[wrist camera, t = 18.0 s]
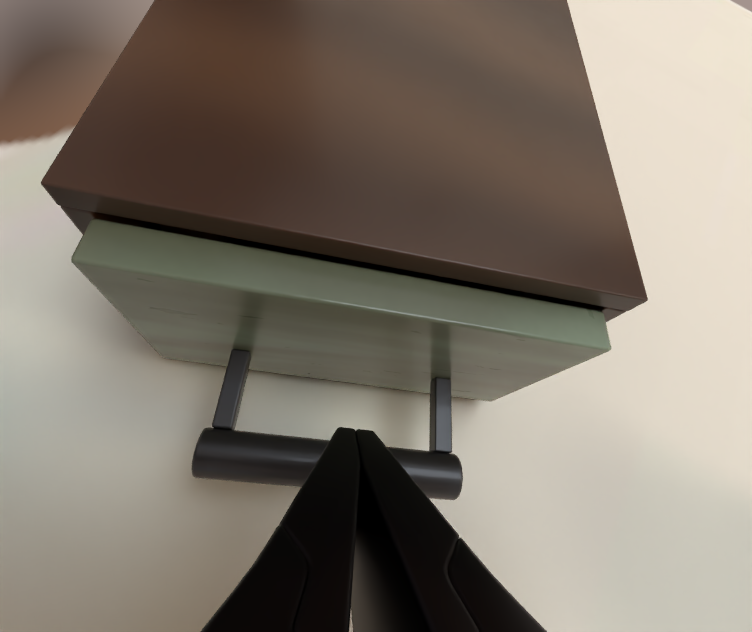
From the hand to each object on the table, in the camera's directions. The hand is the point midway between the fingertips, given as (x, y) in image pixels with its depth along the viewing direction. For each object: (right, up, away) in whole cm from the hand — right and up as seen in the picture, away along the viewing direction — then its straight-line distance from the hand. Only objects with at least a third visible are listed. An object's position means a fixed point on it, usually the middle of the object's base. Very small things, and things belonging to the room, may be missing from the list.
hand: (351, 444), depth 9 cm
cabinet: (0, +8, +11) cm, 13 cm away
